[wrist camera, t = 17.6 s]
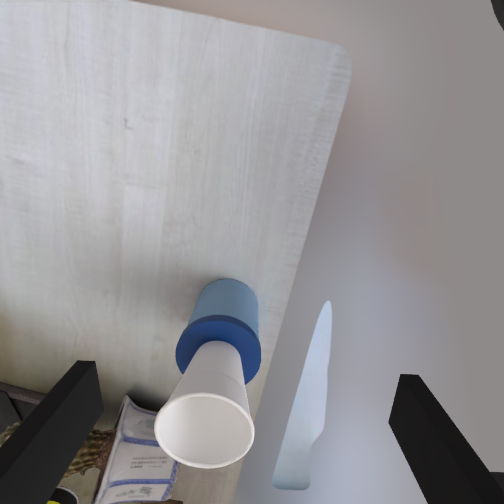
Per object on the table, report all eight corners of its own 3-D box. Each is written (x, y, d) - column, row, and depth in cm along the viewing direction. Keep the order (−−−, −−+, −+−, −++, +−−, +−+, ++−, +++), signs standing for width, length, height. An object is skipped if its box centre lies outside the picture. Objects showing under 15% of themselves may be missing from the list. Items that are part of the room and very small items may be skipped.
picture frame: (-8, 380, 57) (-13, 440, 63) (-17, 387, 55) (-21, 449, 61) (57, 397, 58) (47, 456, 64) (51, 405, 57) (41, 465, 62)
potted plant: (192, 473, 44) (-47, 475, 35) (164, 532, 51) (-46, 548, 41) (191, 380, 60) (26, 364, 50) (169, 434, 66) (19, 429, 56)
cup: (218, 312, 36) (202, 375, 25) (270, 359, 38) (275, 436, 28) (166, 356, 38) (132, 430, 28) (218, 398, 40) (205, 482, 30)
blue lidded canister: (261, 278, 49) (263, 322, 36) (257, 334, 53) (258, 393, 40) (195, 275, 49) (173, 318, 36) (196, 332, 53) (177, 390, 40)
